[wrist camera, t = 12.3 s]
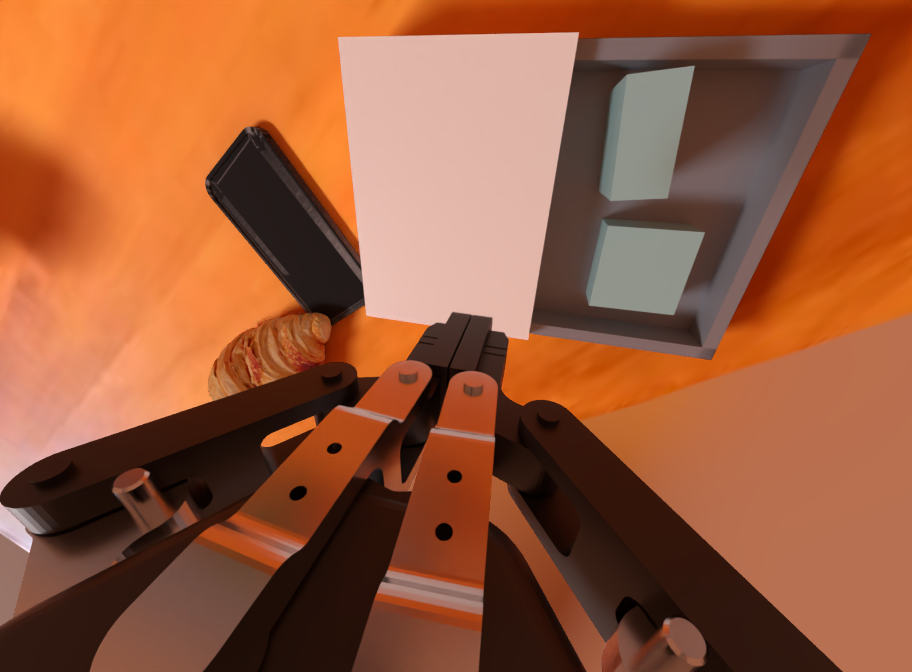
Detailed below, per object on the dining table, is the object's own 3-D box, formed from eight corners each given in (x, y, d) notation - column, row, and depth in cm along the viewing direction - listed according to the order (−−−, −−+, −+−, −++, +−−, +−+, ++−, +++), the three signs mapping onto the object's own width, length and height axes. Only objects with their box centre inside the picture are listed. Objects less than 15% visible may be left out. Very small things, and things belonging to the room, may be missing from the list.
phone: (251, 118, 24) (380, 293, 28) (263, 120, 25) (386, 289, 29) (199, 185, 27) (321, 332, 31) (211, 184, 28) (328, 327, 32)
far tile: (704, 232, 18) (688, 223, 20) (607, 225, 19) (602, 218, 21) (673, 315, 21) (662, 299, 23) (588, 305, 22) (585, 291, 24)
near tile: (627, 74, 14) (694, 65, 14) (609, 92, 18) (660, 85, 18) (610, 200, 17) (667, 198, 16) (598, 190, 21) (642, 188, 20)
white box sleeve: (372, 56, 21) (337, 37, 17) (573, 54, 19) (578, 32, 15) (388, 296, 29) (366, 315, 25) (530, 315, 26) (527, 340, 23)
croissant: (331, 275, 33) (245, 268, 26) (377, 361, 31) (296, 377, 24) (247, 381, 43) (170, 395, 36) (277, 452, 41) (200, 481, 34)
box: (573, 54, 19) (577, 38, 16) (821, 52, 16) (871, 33, 14) (530, 315, 26) (528, 333, 24) (694, 337, 24) (711, 359, 22)
